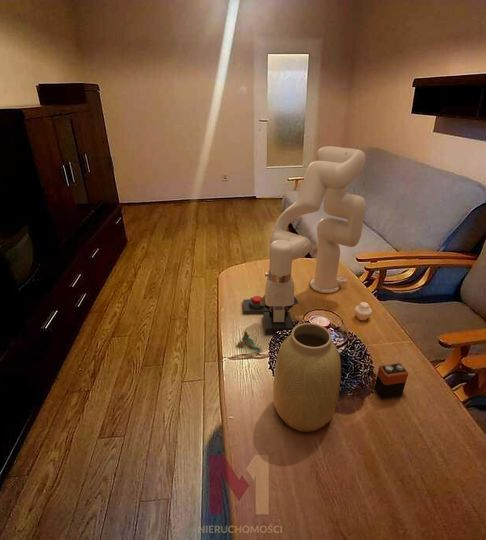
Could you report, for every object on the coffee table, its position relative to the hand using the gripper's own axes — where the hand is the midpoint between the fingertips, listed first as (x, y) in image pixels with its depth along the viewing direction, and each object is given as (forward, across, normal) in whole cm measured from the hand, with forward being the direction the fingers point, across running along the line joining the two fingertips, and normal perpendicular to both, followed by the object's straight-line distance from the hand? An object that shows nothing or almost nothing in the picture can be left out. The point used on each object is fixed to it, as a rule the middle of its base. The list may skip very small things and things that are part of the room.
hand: (278, 317), depth 128 cm
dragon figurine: (+4, -11, -11) cm, 16 cm away
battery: (+4, +29, -32) cm, 43 cm away
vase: (+4, +3, -38) cm, 38 cm away
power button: (+1, -7, +12) cm, 14 cm away
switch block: (+4, -7, +12) cm, 14 cm away
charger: (0, 0, 0) cm, 0 cm away
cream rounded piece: (+4, +33, +4) cm, 33 cm away
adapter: (+4, 0, 0) cm, 4 cm away
